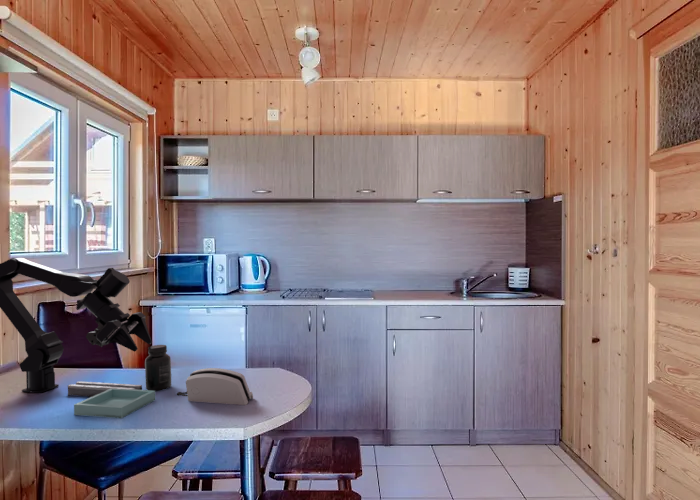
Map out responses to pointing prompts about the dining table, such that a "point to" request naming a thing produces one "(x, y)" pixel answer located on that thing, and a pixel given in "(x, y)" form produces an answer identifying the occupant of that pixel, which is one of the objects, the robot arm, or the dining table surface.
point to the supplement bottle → (158, 368)
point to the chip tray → (114, 403)
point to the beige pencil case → (218, 387)
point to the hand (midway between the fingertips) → (143, 346)
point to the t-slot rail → (97, 388)
